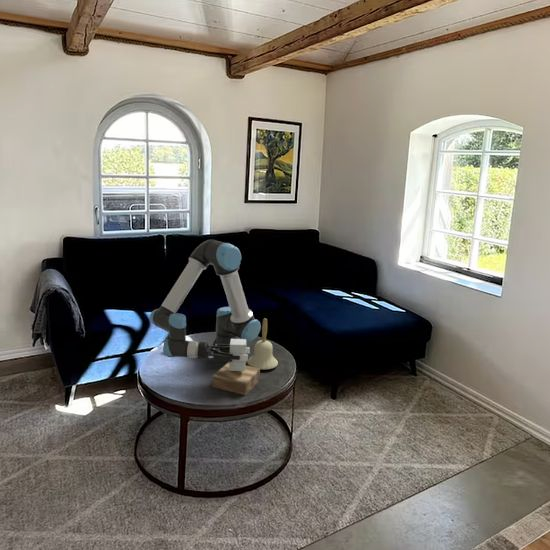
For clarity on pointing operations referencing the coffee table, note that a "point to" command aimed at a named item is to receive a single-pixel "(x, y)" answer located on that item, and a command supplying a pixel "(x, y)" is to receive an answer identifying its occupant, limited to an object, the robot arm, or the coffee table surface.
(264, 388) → the coffee table surface
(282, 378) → the coffee table surface
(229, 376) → the walnut stand
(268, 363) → the handbell
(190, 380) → the coffee table surface
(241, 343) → the supplement box
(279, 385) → the coffee table surface
